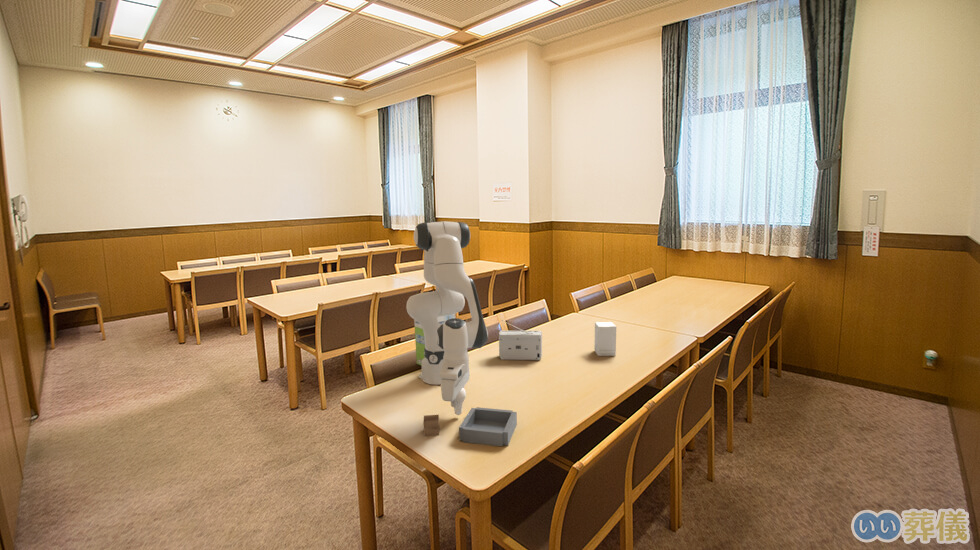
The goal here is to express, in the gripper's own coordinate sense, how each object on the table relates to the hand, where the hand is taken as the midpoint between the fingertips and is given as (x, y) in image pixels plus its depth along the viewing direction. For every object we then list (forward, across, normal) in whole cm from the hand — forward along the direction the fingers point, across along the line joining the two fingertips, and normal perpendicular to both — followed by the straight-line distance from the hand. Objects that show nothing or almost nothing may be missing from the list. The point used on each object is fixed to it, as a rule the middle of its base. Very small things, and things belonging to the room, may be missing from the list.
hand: (457, 402), depth 166 cm
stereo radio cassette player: (+7, -67, +10) cm, 68 cm away
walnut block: (+6, +12, -5) cm, 14 cm away
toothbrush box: (+7, -52, -28) cm, 60 cm away
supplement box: (+7, -82, +50) cm, 96 cm away
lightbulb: (+5, -1, 0) cm, 5 cm away
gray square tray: (+6, +7, +14) cm, 16 cm away
